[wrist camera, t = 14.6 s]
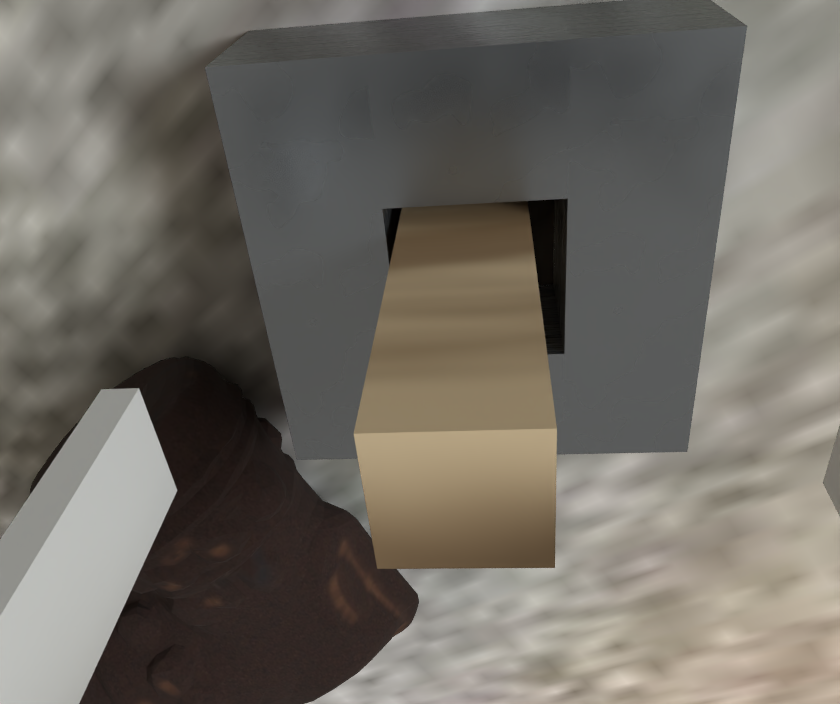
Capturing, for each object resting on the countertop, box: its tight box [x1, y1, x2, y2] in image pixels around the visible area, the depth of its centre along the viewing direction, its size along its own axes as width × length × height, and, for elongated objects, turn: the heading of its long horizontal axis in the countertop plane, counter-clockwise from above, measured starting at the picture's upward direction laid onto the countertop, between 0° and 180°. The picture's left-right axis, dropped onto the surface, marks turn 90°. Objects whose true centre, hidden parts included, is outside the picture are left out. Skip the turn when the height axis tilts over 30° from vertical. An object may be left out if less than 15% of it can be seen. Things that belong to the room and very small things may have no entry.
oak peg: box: [354, 201, 557, 569], centre depth 19 cm, size 3×3×12 cm
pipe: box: [30, 357, 419, 704], centre depth 29 cm, size 10×15×15 cm
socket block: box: [205, 0, 747, 460], centre depth 22 cm, size 12×12×4 cm
